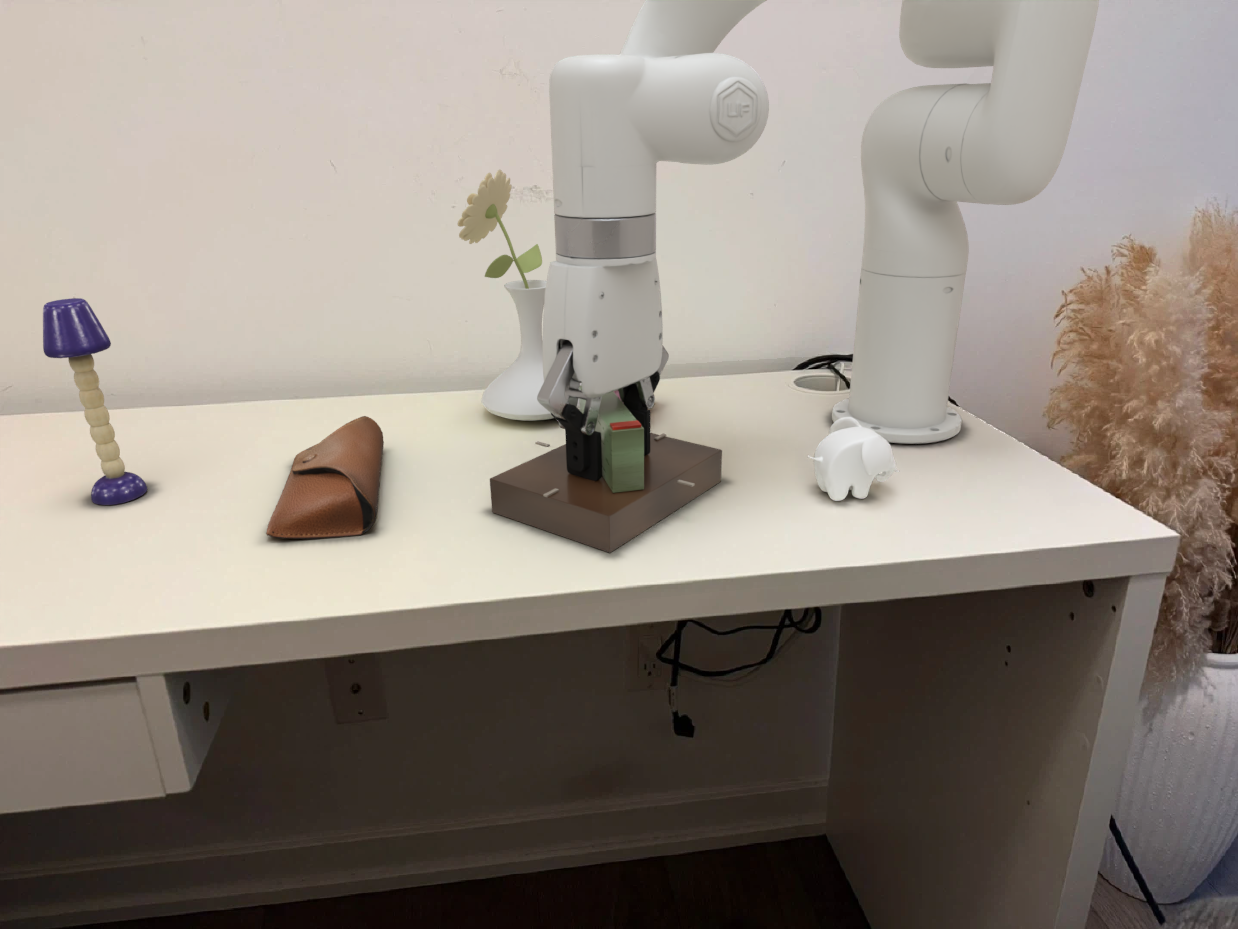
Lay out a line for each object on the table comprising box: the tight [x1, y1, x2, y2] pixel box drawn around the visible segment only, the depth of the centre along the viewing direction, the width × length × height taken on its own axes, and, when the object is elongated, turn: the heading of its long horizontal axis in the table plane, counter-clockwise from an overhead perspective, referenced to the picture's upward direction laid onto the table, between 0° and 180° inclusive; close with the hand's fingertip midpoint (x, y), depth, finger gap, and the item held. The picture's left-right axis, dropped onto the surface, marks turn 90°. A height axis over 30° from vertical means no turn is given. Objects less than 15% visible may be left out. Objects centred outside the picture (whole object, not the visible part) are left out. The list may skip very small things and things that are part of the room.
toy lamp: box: [42, 297, 148, 506], centre depth 70 cm, size 5×5×17 cm
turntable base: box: [489, 432, 723, 554], centre depth 71 cm, size 16×16×3 cm
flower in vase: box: [457, 169, 582, 422], centre depth 87 cm, size 13×11×25 cm
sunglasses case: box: [265, 415, 385, 540], centre depth 72 cm, size 18×7×7 cm
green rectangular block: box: [579, 386, 644, 493], centre depth 69 cm, size 12×2×5 cm, turn 14°
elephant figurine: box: [806, 417, 900, 502], centre depth 70 cm, size 7×8×6 cm
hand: (609, 461), depth 70 cm, fingers open, 5 cm apart
